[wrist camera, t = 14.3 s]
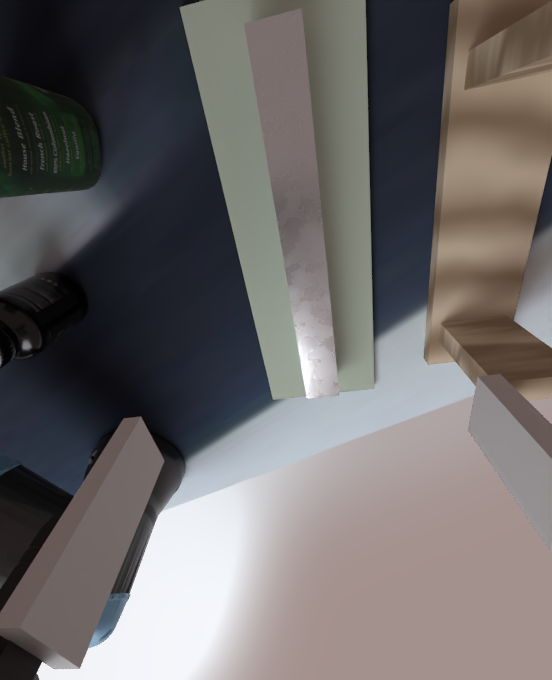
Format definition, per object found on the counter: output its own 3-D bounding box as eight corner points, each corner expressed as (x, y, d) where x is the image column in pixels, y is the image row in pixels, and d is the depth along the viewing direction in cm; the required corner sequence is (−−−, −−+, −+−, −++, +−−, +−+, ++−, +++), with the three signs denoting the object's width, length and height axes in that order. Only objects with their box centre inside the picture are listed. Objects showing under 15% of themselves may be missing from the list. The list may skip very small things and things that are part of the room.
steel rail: (335, 375, 41) (339, 395, 37) (305, 378, 41) (306, 398, 38) (300, 29, 24) (301, 8, 21) (250, 42, 25) (243, 23, 21)
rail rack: (498, 349, 39) (613, 453, 25) (423, 357, 40) (494, 462, 26) (579, -29, 22) (1039, -328, 9) (449, 4, 24) (677, -216, 10)
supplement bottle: (19, 279, 36) (-89, 326, 26) (67, 264, 35) (-24, 307, 25) (54, 328, 40) (-29, 387, 29) (100, 316, 39) (30, 373, 28)
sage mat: (373, 384, 42) (374, 388, 42) (273, 396, 44) (273, 399, 43) (362, -39, 23) (364, -45, 22) (182, 11, 24) (179, 7, 24)
